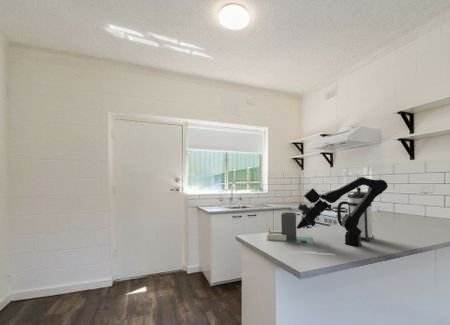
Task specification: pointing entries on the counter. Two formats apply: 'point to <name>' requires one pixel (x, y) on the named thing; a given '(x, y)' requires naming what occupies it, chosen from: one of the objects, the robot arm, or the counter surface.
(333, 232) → the counter surface
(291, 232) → the grey tall block
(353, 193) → the coffee press
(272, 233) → the board
